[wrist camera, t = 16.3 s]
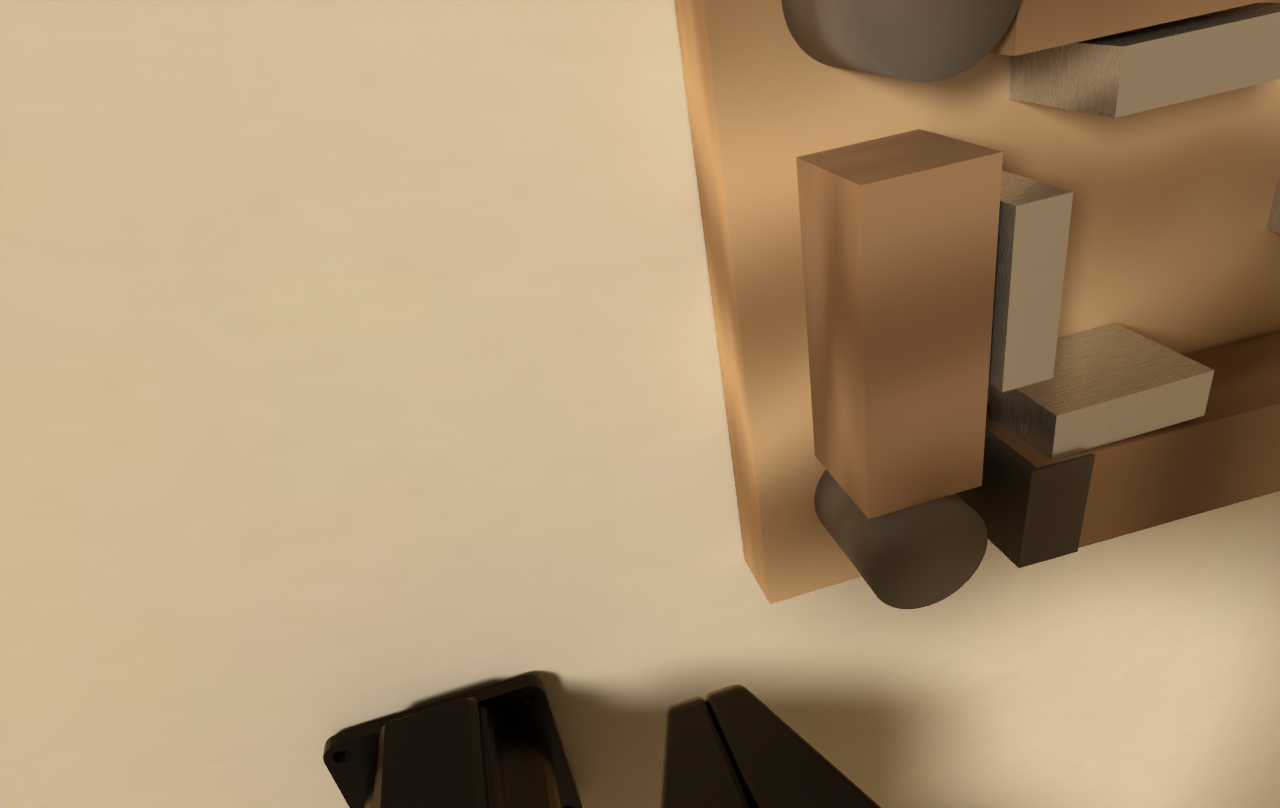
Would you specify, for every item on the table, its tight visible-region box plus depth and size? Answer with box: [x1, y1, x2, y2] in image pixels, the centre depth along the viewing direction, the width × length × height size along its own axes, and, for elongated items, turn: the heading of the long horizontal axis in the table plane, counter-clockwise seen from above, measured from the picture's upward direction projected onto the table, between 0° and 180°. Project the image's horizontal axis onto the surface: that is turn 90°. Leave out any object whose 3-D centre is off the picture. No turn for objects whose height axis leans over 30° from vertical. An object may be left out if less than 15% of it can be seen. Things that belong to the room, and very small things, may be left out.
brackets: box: [987, 3, 1280, 461], centre depth 18 cm, size 9×11×3 cm
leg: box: [956, 332, 1280, 568], centre depth 20 cm, size 13×3×3 cm, turn 97°
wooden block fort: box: [675, 0, 1280, 609], centre depth 18 cm, size 18×20×5 cm
